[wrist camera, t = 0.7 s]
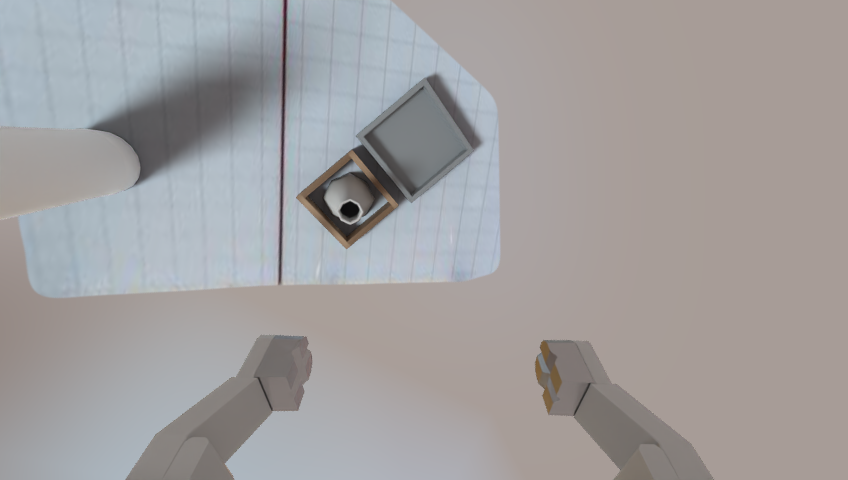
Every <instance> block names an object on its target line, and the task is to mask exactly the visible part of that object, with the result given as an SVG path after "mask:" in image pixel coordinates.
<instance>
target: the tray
mask: <svg viewBox="0 0 848 480" xmlns="http://www.w3.org/2000/svg"><path fill="white" fill-rule="evenodd" d="M356 137H357V138H358V139H359V141H360V142H361V143H362V144H363V145H364V147H365V148H366V149H367V150H368V152H369V153H370V154H371V155H372V156H373V158H374V159H375V160H376V161H377V163H378V164H379V165H380V166H381V167H382V169H383V170H384V171H385V172H386V174H387V175H388V176H389V177H390V178H391V180H392V181H393V182H394V183H395V185H396V186H397V187H398V188H399V189H400V191H401V192H402V193H403V194H404V196H405V197H406V198H407V199H408V200H409V201H410V202H411V203H412V202H413V201H414V200H416V199H417V198H418V197H419V196H420V195H422V194H423V193H424V192H425V191H426V190H428V189H429V188H430V187H431V186H432V185H434V184H435V183H436V182H437V181H438V180H440V179H441V178H442V177H443V176H444V175H445V174H447V173H448V172H449V171H450V170H451V169H453V168H454V167H455V166H456V165H457V164H459V163H460V162H461V161H462V160H463V159H465V158H466V157H467V156H468V155H469V154H471V153H472V152H473V151H474V150H473V148H472V147H471V145H470V144H469V142H468V141H467V139H466V138H465V136H464V135H463V133H462V132H461V130H460V129H459V128H458V126H457V125H456V123H455V122H454V120H453V119H452V117H451V116H450V114H449V113H448V111H447V110H446V108H445V107H444V105H443V104H442V102H441V101H440V99H439V98H438V96H437V95H436V93H435V92H434V90H433V89H432V87H431V86H430V84H429V83H428V81H427V80H426V78H424V79H423V80H421V81H420V82H419V83H418V84H416V85H415V86H414V87H413V88H412V89H410V90H409V91H408V92H407V93H406V94H405V95H403V96H402V97H401V98H400V99H399V100H397V101H396V102H395V103H394V104H393V105H392V106H390V107H389V108H388V109H387V110H386V111H384V112H383V113H382V114H381V115H380V116H378V117H377V118H376V119H375V120H374V121H373V122H371V123H370V124H369V125H368V126H367V127H365V128H364V129H363V130H362V131H361V132H359V133H358V134H357V135H356Z"/></svg>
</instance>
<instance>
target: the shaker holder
mask: <svg viewBox="0 0 848 480" xmlns="http://www.w3.org/2000/svg"><path fill="white" fill-rule="evenodd" d="M351 159H353V160H354V162H355V163H356V164H357V165H358V166H359V168H360V169H361V170H362V171H363V172H364V173H365V175H366V176H367V177H368V178H369V179H370V181H371V182H372V183H373V184H374V185H375V186H376V188H377V189H378V190H379V191H380V192H381V193H382V195H383V196H384V197H385V198H386V199H387V201H388V202H387V203H386V204H385V205H384V206H383V207H381V208H380V209H379V210H378V211H377V212H375V213H374V214H373V215H372V216H371V217H369V218H368V219H367V220H366V221H365V222H363V223H362V224H361V225H360V226H359V227H357V228H356V229H355V230H354V231H353V232H352V233H350V234H349V235H348V236H346V235H345V234H344V233H343V232H342V231H341V230H340V229H339V228H338V227H337V226H336V225H335V224H334V223H333V222H332V221H331V219H330V218H329V217H328V216H327V215H326V214H325V213H324V212H323V211H322V210H321V209H320V208H319V207H318V206H317V205H316V204H315V203H314V202H313V201H312V200H311V199H310V198H309V197H308V195H309V194H310V193H311V192H313V191H314V190H315V189H316V188H317V187H319V186H320V185H321V184H322V183H323V182H325V181H326V180H327V179H328V178H329V177H330V176H332V175H333V174H334V173H335V172H336V171H338V170H339V169H340V168H341V167H342V166H344V165H345V164H346V163H347V162H348V161H349V160H351ZM296 198H297V199H298V200H299V201H300V202H301V203H302V204H303V205H304V206H305V207H306V208H307V209H308V210H309V211H310V212H311V213H312V215H313V216H314V217H315V218H316V219H317V220H318V221H319V222H320V223H321V224H322V225H323V226H324V227H325V228H326V229H327V230H328V231H329V232H330V233H331V234H332V235H333V236H334V237H335V238H336V239H337V240H338V241H339V242H340V243H341V244H342V245H343V246H344V247H345V248H346V249H347V248H349V247H350V246H351V245H352V244H353V243H355V242H356V241H357V240H358V239H359V238H361V237H362V236H363V235H364V234H365V233H367V232H368V231H369V230H370V229H371V228H373V227H374V226H375V225H376V224H377V223H378V222H380V221H381V220H382V219H383V218H384V217H386V216H387V215H388V214H389V213H390V212H392V211H393V210H394V209H395V208H396V207H398V206H399V205H398V204H397V203H396V202H395V200H394V199H393V198H392V197H391V196H390V194H389V193H388V192H387V191H386V190H385V188H384V187H383V186H382V185H381V184H380V183H379V181H378V180H377V179H376V178H375V177H374V175H373V174H372V173H371V172H370V171H369V169H368V168H367V167H366V166H365V165H364V163H363V162H362V161H361V160H360V159H359V157H358V156H357V155H356V154H355V153H354V151H353V150H351V151H349V152H348V153H347V154H346V155H345V156H343V157H342V158H341V159H340V160H339V161H338V162H336V163H335V164H334V165H333V166H332V167H330V168H329V169H328V170H327V171H326V172H324V173H323V174H322V175H321V176H320V177H319V178H317V179H316V180H315V181H314V182H313V183H311V184H310V185H309V186H308V187H307V188H306V189H304V190H303V191H302V192H301V193H300V194H298V196H297V197H296Z"/></svg>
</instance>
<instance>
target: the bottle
mask: <svg viewBox="0 0 848 480" xmlns="http://www.w3.org/2000/svg"><path fill="white" fill-rule="evenodd" d="M140 169H141V166H140V162H139V158H138V156H137V154H136V153H135V151H134V150H133V148H132V147H131V146H130V145H129V144H128V143H127V142H126V141H124V140H123V139H122V138H120V137H118V136H116V135H114V134H112V133H110V132H105V131H99V130H91V129H82V128H80V129H55V128H28V127H0V220H3V219H8V218H12V217H16V216H20V215H25V214H29V213H33V212H37V211H42V210H46V209H50V208H54V207H58V206H63V205H67V204H71V203H75V202H80V201H84V200H88V199H92V198H96V197H102V196H108V195H113V194H117V193H119V192H122V191H125V190H127V189H128V188H130V187H132V186H133V185H134V184H135V182H136V181H137V180H138V178H139V175H140Z"/></svg>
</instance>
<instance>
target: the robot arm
mask: <svg viewBox="0 0 848 480" xmlns="http://www.w3.org/2000/svg"><path fill="white" fill-rule="evenodd" d="M307 346H308V340H307V337H304V336H281V335H261V336H260V337H259V338H257V340H256V342H255V343H254V345H253V347H252V349H251V351H250V353H249V354H248V356H247V358H246V360H245V362H244V364H243V365H242V367H241V369H240V371H239V373H238V374H237V376H236V377H232V378H230V379H229V380H227V381H226V382H225V383H223V384H222V385H221V386H219V387H218V388H217V389H215V390H214V391H213V392H211V393H210V394H209V395H207V396H206V397H205V398H203V399H202V400H201V401H200V402H198V403H197V404H196V405H194V406H193V407H192V408H190V409H189V410H188V411H186V412H185V413H184V414H182V415H181V416H180V417H178V418H177V419H176V420H174V421H173V422H172V423H170V424H169V425H168V426H166V427H165V428H164V429H162V430H161V431H160V432H159V433H157V434H156V435H155V436H154V438H153V439H152V441H151V442H150V444H149V445H148V447H147V448H146V450H145V451H144V453H143V454H142V456H141V457H140V459H139V460H138V462H137V463H136V465H135V466H134V468H133V469H132V471H131V472H130V474H129V475H128V477H127V478H126V480H234V478H233V475H232V474H231V472H230V471H229V469H228V468H227V467H226V465H225V463H226V461H227V460H228V459H229V458H230V457H231V456H232V455H233V454H234V453H235V452H236V451H237V449H239V448H240V447H241V445H242V444H243V443H244V442H245V441H246V440H247V439H248V438H249V437H250V436H251V435H252V434H253V432H254V431H255V430H256V429H257V428H258V427H259V426H260V425H261V424H262V423H263V422H264V421H265V420H266V419H267V417H268V416H269V415H270V414H271V413H272V411H298V409H299V406H300V403H301V400H302V397H303V394H304V389H303V384H304V383H305V382H306V381H307V380H308V379H309V376H310V373H311V368H312V355H311V352H310V351H309V350H308V349H307ZM540 349H541V353H540V354H539V355H538V356H537V358H536V361H535V372H536V377H537V380H538V383H539V384H540V385H541V386H542V387H543V388H544V389H545V390H544V392H543V395H542V396H543V399H544V402H545V406H546V409H547V412H548V414H549V415H564V416H565V415H566V416H574V418H575V419H576V420H577V421H578V422H579V424H580V425H581V426H582V427H583V428H584V429H585V431H586V432H587V433H588V434H589V435H590V436H591V437H592V438H593V440H594V441H595V442H596V443H597V444H598V445H599V446H600V448H601V449H602V450H603V451H604V452H605V453H606V454H607V455H608V457H609V458H610V459H611V460H612V461H613V462H614V463H615V465H616V466H617V467H618V468H619V469H620V472H619V473H618V474H617V476H616V477H615V478H614V480H714V479H713V477H712V476H711V474H710V473H709V471H708V469H707V468H706V466H705V465H704V463H703V461H702V460H701V458H700V457H699V456H698V454H697V452H696V450H695V449H694V447H693V446H692V444H691V443H689V442H688V441H687V440H686V439H684V438H683V437H682V436H681V435H680V434H678V433H677V432H676V431H675V430H673V429H672V428H671V427H670V426H668V425H667V424H666V423H665V422H663V421H662V420H661V419H659V418H658V417H657V416H656V415H654V414H653V413H652V412H651V411H650V410H648V409H647V408H646V407H645V406H643V405H642V404H641V403H640V402H638V401H637V400H636V399H635V398H633V397H632V396H631V395H629V394H628V393H627V392H626V391H625V390H623V389H622V388H621V387H620V386H618V385H617V384H612V383H611V381H610V379H609V377H608V376H607V373H606V372H605V370H604V368H603V366H602V364H601V362H600V360H599V358H598V357H597V355H596V353H595V351H594V349H593V347H592V345H591V344H590V343H589V342H588V341H571V340H543V341H542V342H541V345H540Z"/></svg>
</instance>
